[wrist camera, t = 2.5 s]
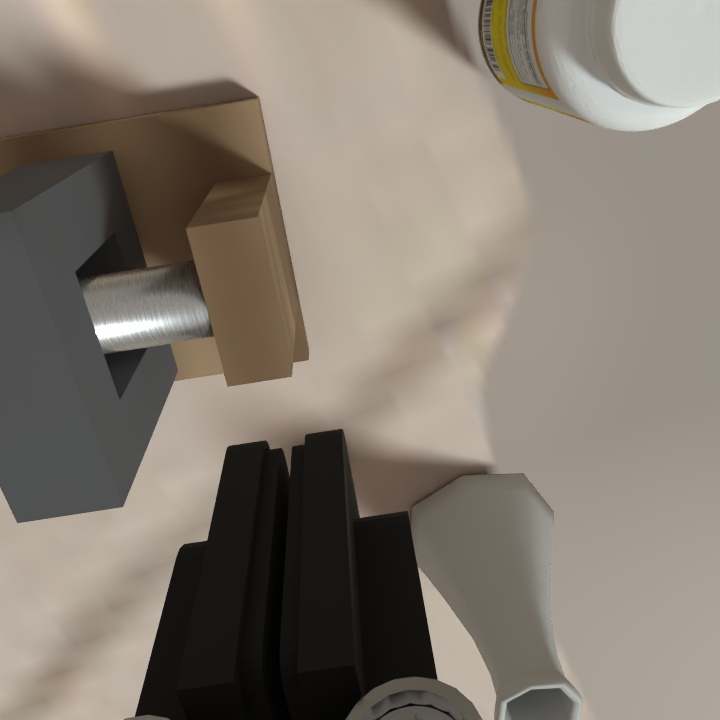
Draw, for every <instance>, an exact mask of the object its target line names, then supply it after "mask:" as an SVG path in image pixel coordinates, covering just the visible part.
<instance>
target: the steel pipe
mask: <svg viewBox="0 0 720 720" xmlns="http://www.w3.org/2000/svg"><path fill="white" fill-rule="evenodd" d="M77 279H78V282H79V285H80V288H81V291H82V293H83V296H84V299H85V302H86V305H87V308H88V311H89V314H90V316H91V319H92V322H93V325H94V328H95V331H96V334H97V336H98V339H99V342H100V345H101V348H102V351H103V354H108V353H114V352H120V351H127V350H133V349H140V348H146V347H152V346H159V345H165V344H172V343H178V342H184V341H191V340H197V339H204V338H210V337H214V333H213V330H212V326H211V322H210V318H209V314H208V311H207V307H206V303H205V299H204V296H203V292H202V288H201V284H200V280H199V277H198V273H197V269H196V265H195V262H194V260H191V261H185V262H178V263H172V264H166V265H159V266H153V267H147V268H140V269H134V270H128V271H121V272H115V273H109V274H102V275H96V276H90V277H83V278H77Z"/></svg>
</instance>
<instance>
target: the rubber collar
mask: <svg viewBox="0 0 720 720" xmlns="http://www.w3.org/2000/svg"><path fill="white" fill-rule="evenodd" d="M140 268H147V264H146V261H145V258H144V254H143V251H142V248H141V244H140V241H139V238H138V234H137V231H136V227H135V224H134V221H133V217H132V214H131V211H130V207H129V204H128V201H127V197H126V194H125V191H124V187H123V184H122V181H121V177H120V174H119V170H118V167H117V164H116V160H115V157H114V154H113V150H112V151H106V152H100V153H93V154H87V155H81V156H75V157H69V158H62V159H56V160H50V161H44V162H37V163H31V164H25V165H23V166H21V167H18V168H16V169H14V170H12V171H10V172H8V173H6V174H3V175H1V176H0V487H1V489H2V491H3V494H4V496H5V498H6V500H7V502H8V504H9V506H10V508H11V511H12V513H13V515H14V517H15V519H16V521H17V523H21V522H28V521H34V520H41V519H47V518H54V517H60V516H67V515H73V514H80V513H86V512H93V511H99V510H106V509H112V508H119V507H123V505H124V503H125V500H126V498H127V496H128V493H129V491H130V488H131V486H132V483H133V481H134V478H135V476H136V473H137V471H138V468H139V466H140V463H141V461H142V459H143V456H144V454H145V451H146V449H147V446H148V444H149V441H150V439H151V436H152V434H153V431H154V429H155V426H156V424H157V422H158V419H159V417H160V414H161V412H162V409H163V407H164V404H165V402H166V399H167V397H168V394H169V392H170V390H171V387H172V385H173V382H174V380H175V377H176V375H177V372H178V368H177V365H176V362H175V358H174V355H173V352H172V348H171V345H170V344H165V345H159V346H152V347H146V348H140V349H133V350H127V351H120V352H114V353H108V354H103V351H102V348H101V345H100V342H99V339H98V336H97V334H96V331H95V328H94V325H93V322H92V319H91V316H90V314H89V311H88V308H87V305H86V302H85V299H84V296H83V293H82V291H81V288H80V285H79V282H78V279H77V278H83V277H90V276H96V275H102V274H109V273H115V272H121V271H128V270H134V269H140Z"/></svg>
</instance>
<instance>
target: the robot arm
mask: <svg viewBox="0 0 720 720" xmlns="http://www.w3.org/2000/svg"><path fill="white" fill-rule="evenodd" d="M124 720H482V718H481V716H480V715H479V713H478V711H477V710H476V708H475V706H474V705H473V703H472V702H471V701H470V700H469V699H467V698H466V697H465V696H464V695H463V694H462V693H461V692H459V691H458V690H457V689H456V688H454V687H452V686H450V685H447V684H445V683H443V682H441V681H439V680H437V674H436V668H435V663H434V657H433V651H432V646H431V640H430V635H429V629H428V623H427V618H426V612H425V606H424V601H423V595H422V589H421V584H420V578H419V572H418V567H417V561H416V555H415V550H414V544H413V539H412V533H411V527H410V522H409V516H408V512H407V511H404V512H398V513H391V514H384V515H378V516H371V517H364V518H360V517H359V511H358V506H357V500H356V495H355V490H354V484H353V479H352V473H351V468H350V463H349V457H348V452H347V446H346V441H345V436H344V432H343V429H338V430H331V431H325V432H318V433H312V434H306V435H305V445H298V446H293V447H292V456H291V472H290V476H289V472H288V467H287V463H286V459H285V455H284V452H283V450H282V448H279V449H272V450H270V447H269V445H268V442H267V441H266V440H265V441H259V442H252V443H245V444H239V445H232V446H229V447H228V448H227V450H226V455H225V459H224V464H223V469H222V474H221V478H220V483H219V488H218V493H217V497H216V502H215V507H214V512H213V516H212V521H211V526H210V530H209V535H208V540H207V541H203V542H196V543H189V544H184V545H183V546H182V547H181V548H180V550H179V552H178V555H177V558H176V561H175V565H174V569H173V573H172V577H171V580H170V584H169V588H168V592H167V596H166V600H165V603H164V607H163V611H162V615H161V619H160V623H159V626H158V630H157V634H156V638H155V642H154V646H153V649H152V653H151V657H150V661H149V665H148V669H147V672H146V676H145V680H144V684H143V688H142V692H141V695H140V699H139V703H138V707H137V711H136V714H135V717H131V718H126V719H124Z"/></svg>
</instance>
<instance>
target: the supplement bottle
mask: <svg viewBox="0 0 720 720" xmlns="http://www.w3.org/2000/svg"><path fill="white" fill-rule="evenodd" d="M478 33H479V41H480V46H481V50H482V54H483V56H484V59H485V61H486V64H487V66H488V68H489V69H490V71H491V73H492V74H493V76H494V77H495V78H496V80H497V81H498V82H499V83H500V84H501V85H502V86H503V87H504V88H505V89H506V90H508V91H509V92H510V93H512V94H513V95H515V96H516V97H518V98H521V99H522V100H525V101H527V102H529V103H532V104H536V105H538V106H541V107H544V108H547V109H550V110H553V111H556V112H559V113H562V114H565V115H568V116H571V117H574V118H577V119H580V120H582V121H586V122H588V123H591V124H594V125H597V126H600V127H604V128H608V129H613V130H621V131H643V130H651V129H656V128H660V127H663V126H667V125H669V124H672V123H674V122H677V121H679V120H682V119H684V118H685V117H687V116H689V115H691V114H692V113H694V112H696V111H697V110H699V109H700V108H701V107H703V106H704V105H706V104H708V103H711V102H715V101H717V100H719V99H720V0H481V4H480V9H479V18H478Z"/></svg>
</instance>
